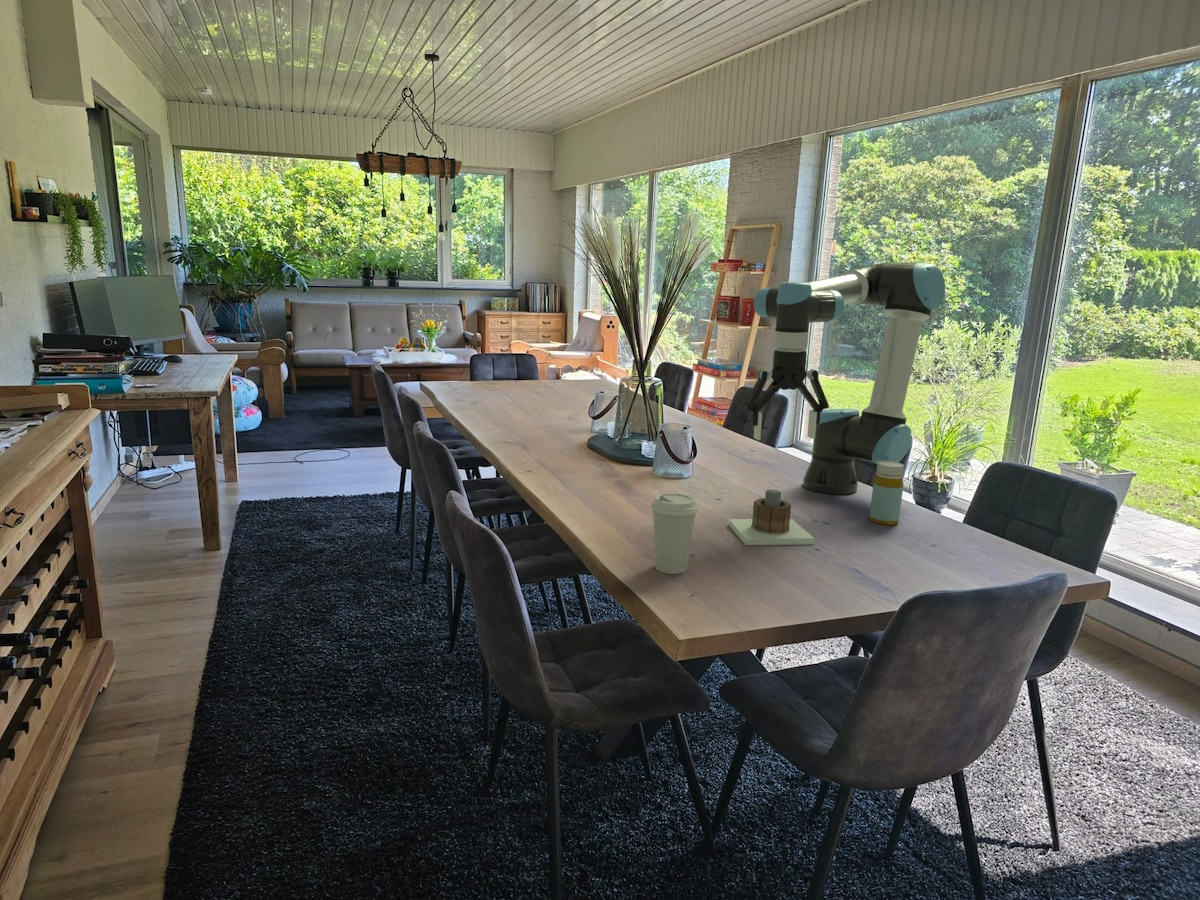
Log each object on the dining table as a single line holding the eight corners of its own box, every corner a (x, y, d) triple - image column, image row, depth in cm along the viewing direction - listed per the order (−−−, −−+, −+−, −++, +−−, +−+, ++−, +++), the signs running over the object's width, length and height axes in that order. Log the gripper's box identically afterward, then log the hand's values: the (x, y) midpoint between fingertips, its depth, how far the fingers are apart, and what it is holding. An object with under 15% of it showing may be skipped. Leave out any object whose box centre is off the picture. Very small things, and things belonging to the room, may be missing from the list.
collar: (780, 522, 185) (783, 498, 184) (792, 533, 178) (795, 508, 176) (748, 522, 184) (750, 498, 183) (759, 533, 177) (761, 508, 175)
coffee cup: (644, 559, 163) (648, 491, 159) (689, 559, 164) (693, 491, 160) (651, 577, 154) (655, 505, 150) (698, 577, 154) (703, 505, 151)
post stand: (791, 524, 189) (795, 483, 187) (813, 544, 176) (818, 500, 173) (728, 525, 187) (731, 483, 185) (745, 545, 174) (749, 500, 171)
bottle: (897, 519, 196) (905, 462, 193) (898, 527, 190) (906, 468, 187) (869, 515, 199) (875, 459, 195) (869, 523, 192) (875, 465, 189)
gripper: (833, 347, 185) (826, 433, 190) (733, 348, 182) (729, 435, 187) (848, 351, 178) (840, 440, 183) (744, 352, 174) (739, 443, 180)
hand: (784, 438), depth 185 cm, fingers open, 13 cm apart
